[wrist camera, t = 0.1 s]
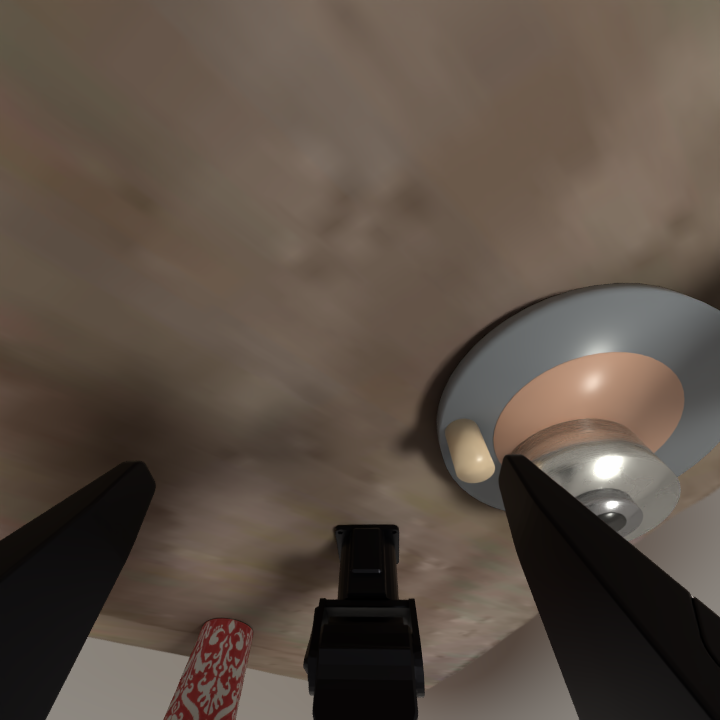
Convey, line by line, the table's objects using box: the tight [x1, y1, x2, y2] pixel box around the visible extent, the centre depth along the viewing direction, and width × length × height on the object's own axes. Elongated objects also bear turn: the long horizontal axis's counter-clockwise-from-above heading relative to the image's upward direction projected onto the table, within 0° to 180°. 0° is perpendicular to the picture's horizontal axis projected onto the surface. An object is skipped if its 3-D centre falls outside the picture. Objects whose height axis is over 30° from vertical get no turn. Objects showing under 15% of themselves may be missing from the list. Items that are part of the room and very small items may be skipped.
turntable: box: [437, 283, 720, 511], centre depth 22 cm, size 20×20×5 cm
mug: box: [164, 618, 253, 720], centre depth 42 cm, size 13×9×14 cm
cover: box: [511, 418, 681, 541], centre depth 23 cm, size 10×10×5 cm
